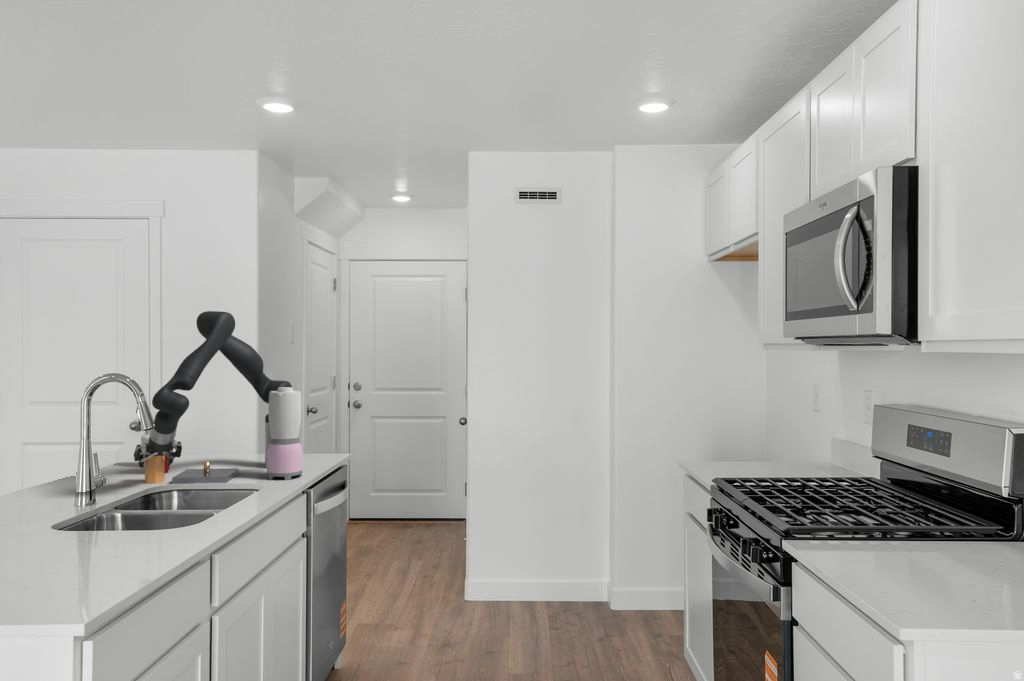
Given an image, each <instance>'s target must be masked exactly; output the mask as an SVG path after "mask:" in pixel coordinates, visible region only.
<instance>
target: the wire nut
mask: <svg viewBox="0 0 1024 681" xmlns="http://www.w3.org/2000/svg"><path fill="white" fill-rule="evenodd" d="M165 475H166V473H165V456H164V455H163V456H153V457H151V458H150V459H146V460H145V467H144V483H145V484H159V483H160V484H161V483H164V482H165Z"/></svg>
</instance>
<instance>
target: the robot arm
mask: <svg viewBox="0 0 1024 681" xmlns="http://www.w3.org/2000/svg"><path fill="white" fill-rule="evenodd" d="M235 327H236V320H235V317H234V315H232V314H231V313H230V312H227V311H216V310H213V311H212V310H208V311H203V312H200V313H199V315H198V316H197V318H196V328H197V330H198V332H199V333H200V335H201V336H202V337H203V338H204V339H205V341H204V342H202V343H201V344H200V345H199V346H198V347H197V348H196V349H195V350H194V351H192V352H191V353H190V354H188V355H187V356H186V357H185V358H184V359H183V360H182V362H181V363H180V364H179V366H178V367H177V370H175V373H174V374H173V376H172V378H170V379H169V381H168V382H166V383H165V384H164V385H163V386H162V387H161V388H160V389H158V391H157V392H155V393H154V395H153V397H152V400H151V404H152V405H151V406H152V407H153V408H154V409H156V410H157V412H156V414H155V416H154V419H153V424H155V427H154V428H153V429H152V430H151V433H150V437H149V441H148V444H147V445H146V446H141V444H137V445H135V449H134V453H133V458H134V459H133V460H134V462H137V463H138V467H139V468H141V469H144V467H143V466H144V462H145V460H146V459H150V458H151V457H153V456H163V455H166V456H167V457H168V459H167V463H168V465H170V466H172V465H171V464H173V462H174V459H175V458H179V459H180V457H181V456H182V450H183V446H182V442H181V441H177V442H176V443H175V444H173V442H174V440H175V438H176V435H177V428H178V425H179V424H178V423H179V421H180V419H181V417H183V415H184V414H185V413H186V412H187V411H188V409H189V408H190V407H189V406H190V400H189V398H188V397H187V396H185V395H184V394H180V393H179V392H176V390H177V391H179V390H180V391H191V390H193V388H194V387H195V385H196V383H197V381H199V378H200V376H201V375H202V373H203V371H204V370H205V368H206V367H207V366H208V364H209V363H210V361H211V360H212V359H213V358H214V356H216V354H217V353H218V351H219V352H221V354H222V355H223V356H224V357H225V358H226V359H227V360H228V361H229V362H230V363H231V364H232V366H233V367H234V368H235V369H236V370H237V371H238V372H239V373H240V375H242V376H243V377H244V378H245V379H246V381H247V382H248V383H249V384H250V385H251V386H252V388H253V389H254V390H255V392H256V393H257V395H258V396H259V397H260V399H261V400H262V401H263V402H264V403H265V404H268V405H269V393H270V392H271V391H278V388H281V387H292V388H293V386H292V383H291V382H290V381H287V380H272V379H270V378H269V377H268V376H267V375H266V374H265V373H264V361H263V358H262V357H261V356H260V354H259V353H258V352H257V351H256V350H255V349H254V348H253V347H252V346H251V345H250V344H248V343H246V341H243V340H241V339H240V338H238V337H236V336H234V335H233V332H234V330H235ZM264 421H265V422H264V424H265V426H264V432H265V433H264V467H265V468H267V450H268V446H269V444H270V442H271V432H270V427H269V413H267V414H266V415H265V417H264ZM172 449H173V451H172ZM174 449H175V451H174ZM143 451H144V452H143ZM142 452H143V453H142ZM144 456H145V457H144Z"/></svg>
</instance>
